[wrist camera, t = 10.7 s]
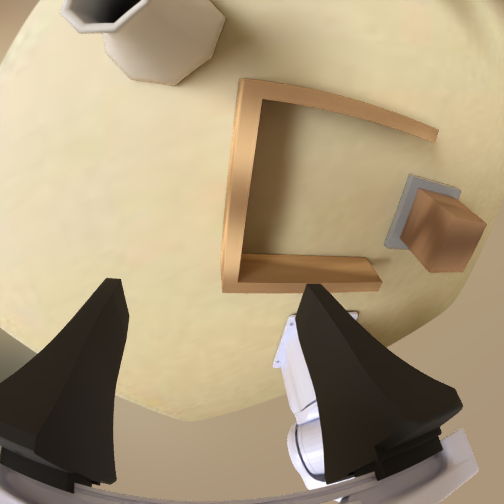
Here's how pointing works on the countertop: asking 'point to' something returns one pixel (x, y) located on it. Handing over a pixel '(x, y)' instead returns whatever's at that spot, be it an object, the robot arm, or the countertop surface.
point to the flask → (151, 34)
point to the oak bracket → (238, 186)
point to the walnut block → (441, 232)
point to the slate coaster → (407, 202)
